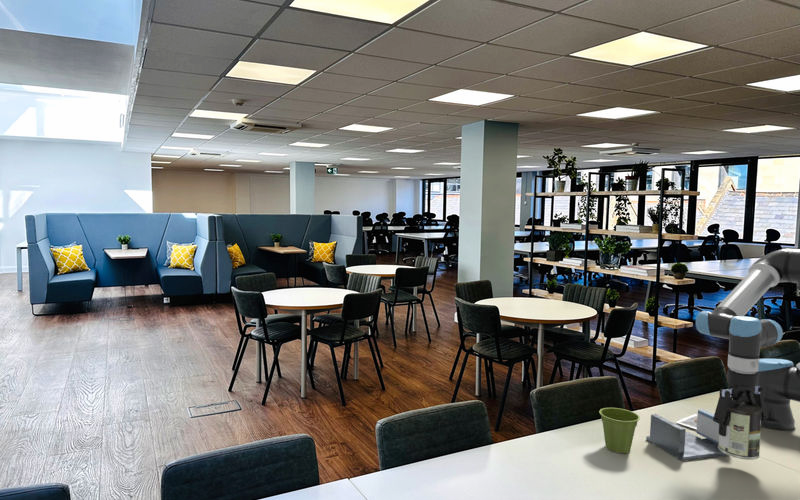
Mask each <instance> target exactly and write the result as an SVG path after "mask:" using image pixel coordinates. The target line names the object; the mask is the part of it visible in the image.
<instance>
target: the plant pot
mask: <svg viewBox="0 0 800 500" xmlns="http://www.w3.org/2000/svg"><path fill="white" fill-rule="evenodd" d="M598 412H599V415H600V416H601V417H600V418H601V422H602V428H603V435H604V443H605V447H606V448H607V450H609V451H611V452H613V453H618V454H620V453H623V454H627V453H630V452H631V449H632V448H631V447H632V445H633V440H634V435H635V431H636V427H637V426H638V421H640V419H641V417H640V415H639V414H637V413H636V412H634V411H631V410H628V409H624V408H620V407H619V408H618V407H603V408H600V410H599V411H598Z"/></svg>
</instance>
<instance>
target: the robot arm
mask: <svg viewBox="0 0 800 500" xmlns="http://www.w3.org/2000/svg"><path fill="white" fill-rule="evenodd" d="M747 272H748V274H746V276H744V278H742V280H741V281H739V283H738V284H737V285H736V286H735V287H734V288H733V289H732V291H730V293H728V295H727V296H726V297H725V298H724V299H723V300H722V301H721V302H719V303H718V305H717V306H716V308H715V309H713V310H712V311H710V310H708V311H707V310H706V311H705V310H704V311H703V310H702V311H700V312H699V313H698V314H697V316H696V318H695V327H696V331H698V332H699V333H700V334H704V335H706V336H710V337H715V338H716V337H717V338H721V339H727V340H729V341H728V354H727V355H728V356H727V367H728V369H727V372H726V380H727V382H728V384H729V386H728V387H727V389H724V388H720V389H719V397H718V400H717V405H716V407H715V411H714V413H713V414H714V418H713V421H714V422H716V423H718V424H719V435H720V437H719V444H720V445H722V446H724V447H726V448H729V444H730V426H729V425H728V424H729V422H730V420H731V411H727V409H728V407H731V408H734V409H735V408H737V406H739V405H740V404H741V403H742V402H745V403H746V404H748V405H751V406H756V405H758V406H760V407H761V408H762V414H761V427H764V428H768V429H773V430H779V431H787V430H788V431H790V430H793V429H794V428H795V427H796V426H795V424H796V423H795V422H796V421H795V418H794V415H793V411H792V407H791V401H794V402H797V403H800V362H798V363H797V364H796V365H795V364H794V362H793V361H791V360H789V359H783V358H760V353H761V348H762V347H767V346H772V345H774V344H776V343H778V342H779V341H781V340H782V338H783V336H784V335H783V334H784V332H783V328H782V326H781V325H780V324H779V323H778V322H776V320H772V319H768V318H767V319H759V318H757V317H754V316H746V315H747V314H748V312H749V311H750V310H751V309H752V308H753V307H754V306H755V304H756V303H757V302H758V301H760V299H761V298H762V297H763V296H764V295H765V294H766V293H767V291H768V290H769V289H770V288H774V287H776V286H777V285H778V284H779V283H792V284H796V291H798V292H799V293H800V248H781V249H778V250H774V251H771V252H770V253H767V254H766V255H763V256H762V257H760V258H758V259H757V260H755V261H754V262H753V264H752V265H751V266H750V267H749V268H748V271H747ZM794 365H795V366H794ZM732 399H733V400H734V401H733V400H732ZM724 420H725V421H724Z"/></svg>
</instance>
